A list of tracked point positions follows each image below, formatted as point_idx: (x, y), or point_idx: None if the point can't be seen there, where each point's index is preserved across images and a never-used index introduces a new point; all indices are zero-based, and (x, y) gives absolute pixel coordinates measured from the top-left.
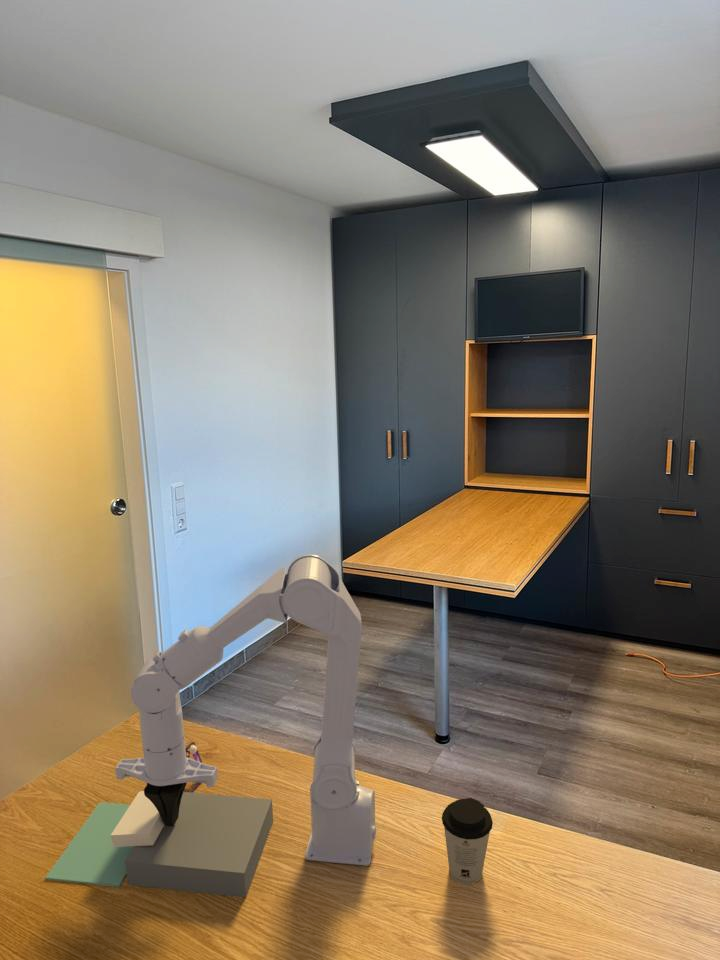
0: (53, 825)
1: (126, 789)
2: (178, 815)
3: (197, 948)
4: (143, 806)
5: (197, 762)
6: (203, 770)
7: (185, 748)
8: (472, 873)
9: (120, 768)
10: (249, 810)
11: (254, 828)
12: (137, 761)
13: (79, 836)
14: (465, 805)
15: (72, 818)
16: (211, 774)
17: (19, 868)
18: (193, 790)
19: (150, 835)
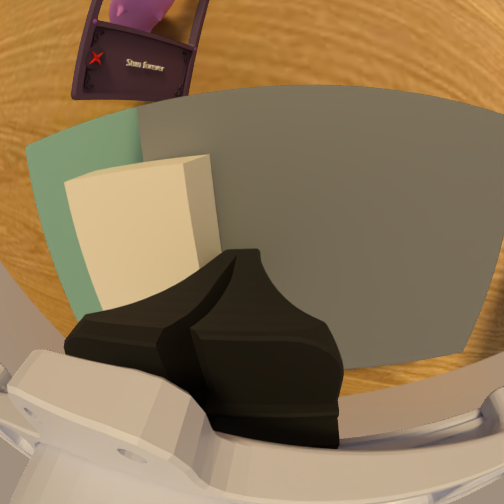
0: (11, 220)
1: (46, 87)
2: (259, 251)
3: (374, 388)
4: (120, 261)
5: (447, 483)
6: (471, 488)
7: None
8: None
9: (9, 442)
10: (477, 167)
11: (491, 238)
12: (3, 432)
13: (51, 240)
14: None
15: (18, 197)
16: (500, 477)
17: (40, 302)
18: (202, 17)
19: None
